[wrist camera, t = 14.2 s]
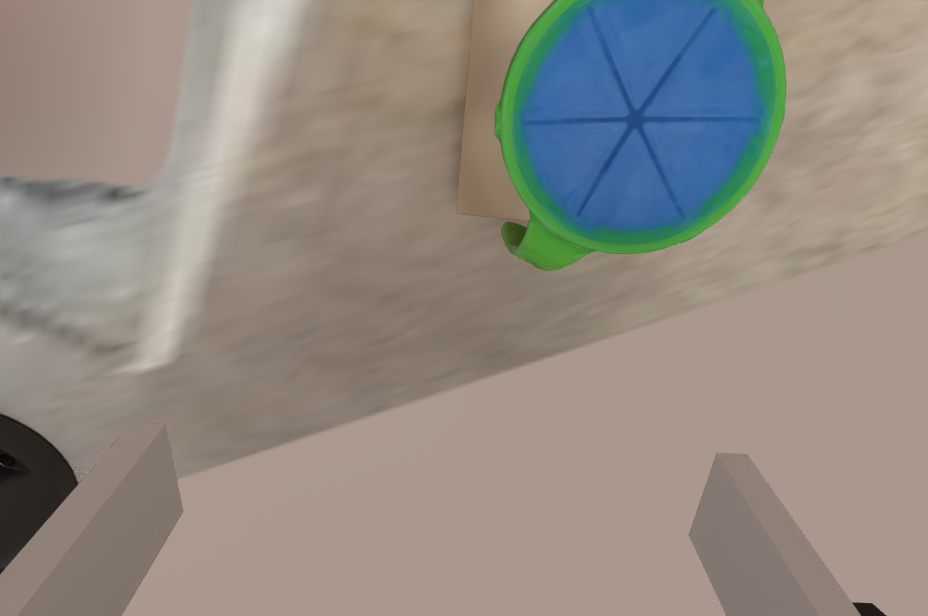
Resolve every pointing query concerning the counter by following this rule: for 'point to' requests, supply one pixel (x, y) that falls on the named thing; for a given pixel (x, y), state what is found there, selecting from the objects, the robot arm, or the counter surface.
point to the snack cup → (636, 122)
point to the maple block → (491, 108)
